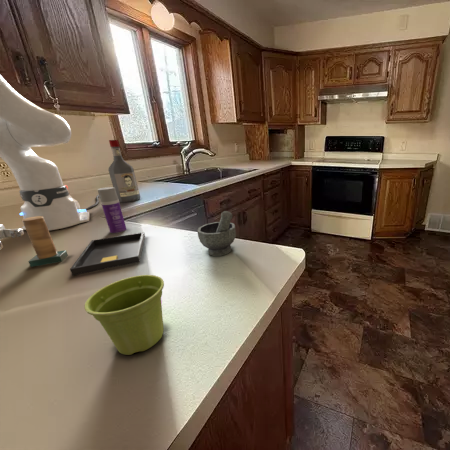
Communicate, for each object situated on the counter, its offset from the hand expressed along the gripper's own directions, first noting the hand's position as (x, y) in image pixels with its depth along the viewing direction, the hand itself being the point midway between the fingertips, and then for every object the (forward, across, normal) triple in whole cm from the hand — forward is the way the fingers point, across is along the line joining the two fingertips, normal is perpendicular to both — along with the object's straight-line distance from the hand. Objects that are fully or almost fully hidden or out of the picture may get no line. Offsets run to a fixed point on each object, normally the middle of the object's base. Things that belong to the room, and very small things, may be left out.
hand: (12, 238), depth 58 cm
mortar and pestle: (+44, -15, +8) cm, 48 cm away
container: (+17, +19, +8) cm, 27 cm away
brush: (+4, +1, +8) cm, 9 cm away
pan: (+19, -2, +8) cm, 20 cm away
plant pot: (+28, -41, +8) cm, 50 cm away
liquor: (+14, +75, +8) cm, 77 cm away
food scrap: (+19, -9, +8) cm, 22 cm away
